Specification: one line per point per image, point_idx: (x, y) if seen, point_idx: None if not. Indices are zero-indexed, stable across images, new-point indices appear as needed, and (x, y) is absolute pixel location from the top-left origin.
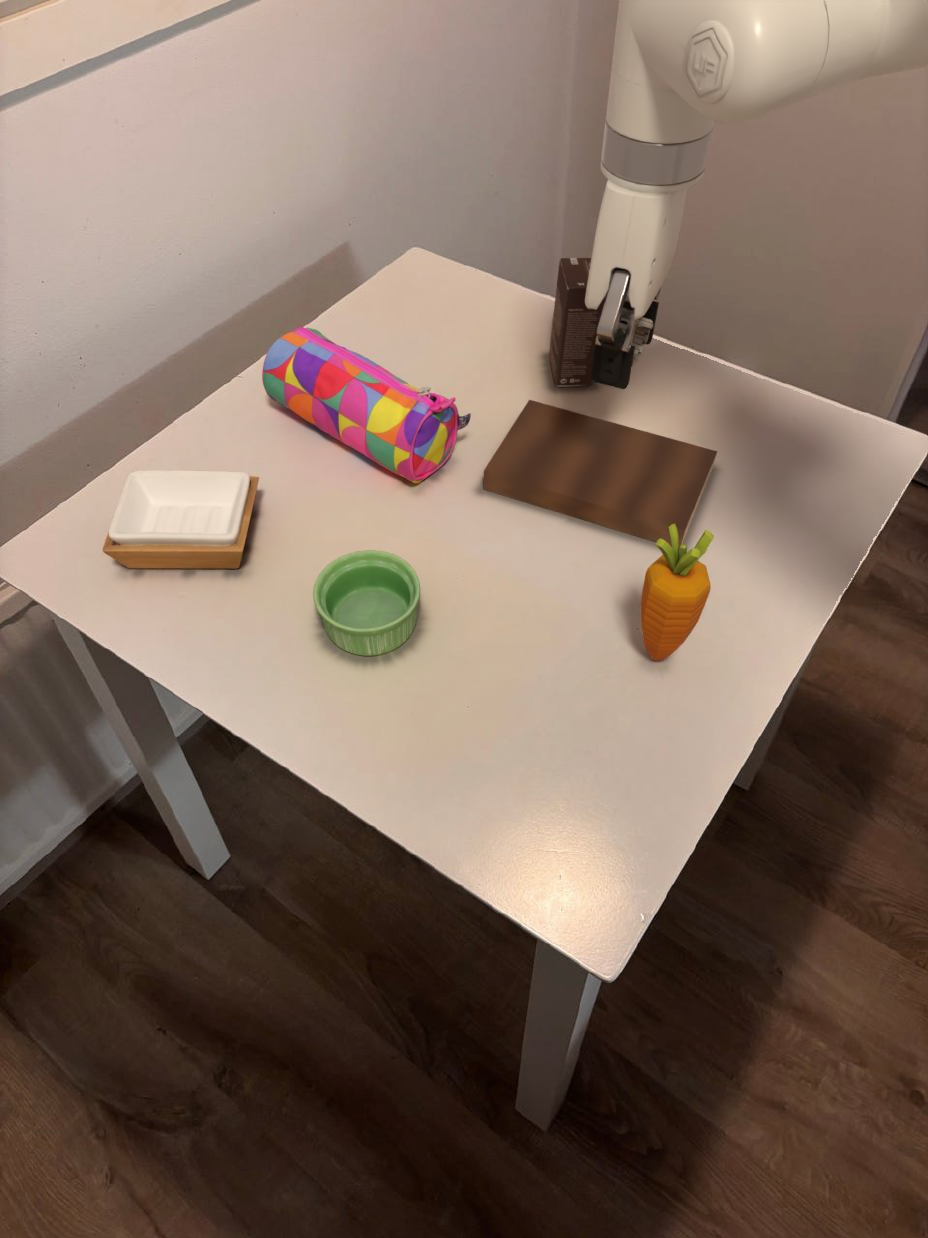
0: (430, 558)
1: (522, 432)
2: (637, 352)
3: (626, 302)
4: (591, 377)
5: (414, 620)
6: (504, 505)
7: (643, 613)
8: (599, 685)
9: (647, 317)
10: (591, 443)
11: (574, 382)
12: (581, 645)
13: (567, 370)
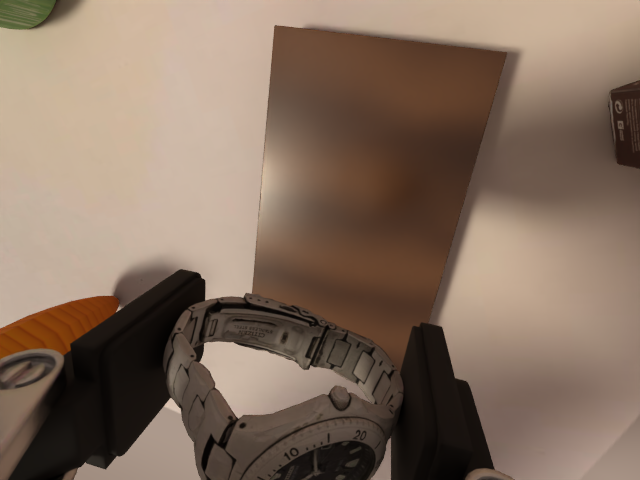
0: (133, 2)
1: (395, 68)
2: (357, 374)
3: (421, 448)
4: (180, 270)
5: (1, 26)
6: (265, 83)
7: (24, 318)
8: (67, 251)
9: (395, 477)
10: (390, 200)
11: (617, 130)
12: (99, 228)
13: (635, 112)
